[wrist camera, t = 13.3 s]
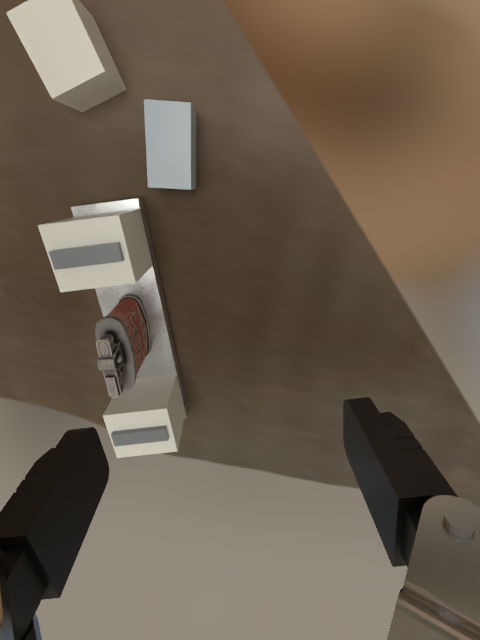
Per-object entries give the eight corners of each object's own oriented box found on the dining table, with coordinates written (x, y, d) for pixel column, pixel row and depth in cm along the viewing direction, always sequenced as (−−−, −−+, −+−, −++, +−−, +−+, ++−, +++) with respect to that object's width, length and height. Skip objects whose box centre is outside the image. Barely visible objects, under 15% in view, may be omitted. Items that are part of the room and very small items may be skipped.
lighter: (114, 294, 38) (77, 330, 29) (144, 292, 38) (116, 328, 29) (128, 356, 41) (97, 407, 32) (155, 355, 41) (133, 405, 32)
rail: (139, 414, 47) (135, 424, 45) (78, 205, 36) (70, 207, 35) (188, 408, 47) (186, 418, 45) (142, 197, 36) (137, 198, 34)
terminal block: (158, 186, 36) (147, 187, 31) (156, 110, 33) (143, 99, 29) (196, 188, 36) (190, 189, 31) (196, 113, 33) (190, 102, 29)
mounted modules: (133, 418, 45) (115, 462, 38) (73, 217, 35) (33, 226, 28) (185, 412, 45) (176, 455, 38) (139, 208, 35) (116, 215, 28)
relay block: (82, 112, 33) (52, 98, 28) (46, 43, 31) (6, 12, 25) (126, 90, 33) (105, 71, 27) (93, 17, 30) (62, -20, 25)
